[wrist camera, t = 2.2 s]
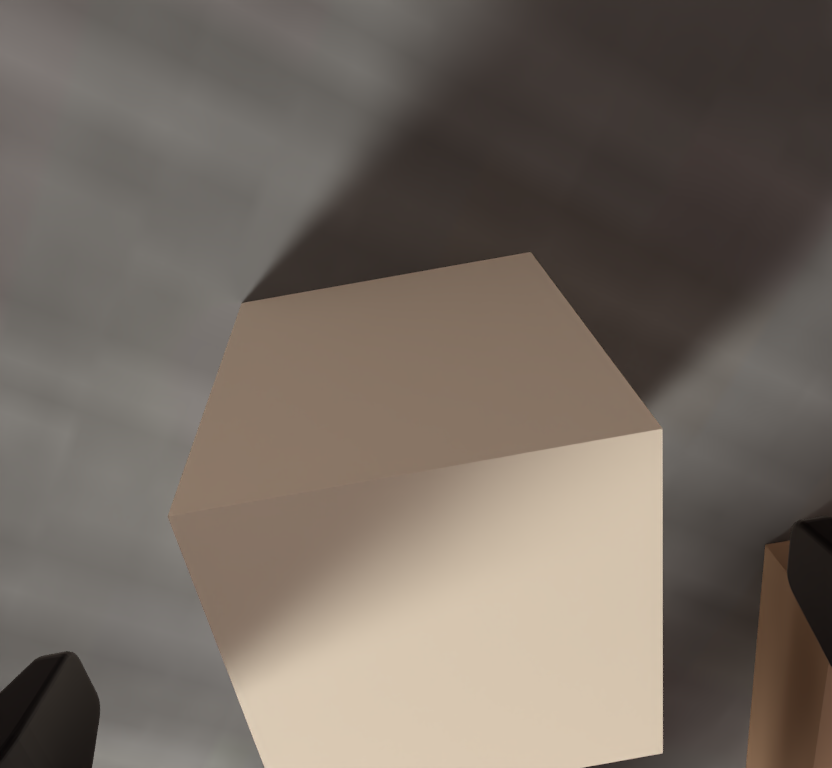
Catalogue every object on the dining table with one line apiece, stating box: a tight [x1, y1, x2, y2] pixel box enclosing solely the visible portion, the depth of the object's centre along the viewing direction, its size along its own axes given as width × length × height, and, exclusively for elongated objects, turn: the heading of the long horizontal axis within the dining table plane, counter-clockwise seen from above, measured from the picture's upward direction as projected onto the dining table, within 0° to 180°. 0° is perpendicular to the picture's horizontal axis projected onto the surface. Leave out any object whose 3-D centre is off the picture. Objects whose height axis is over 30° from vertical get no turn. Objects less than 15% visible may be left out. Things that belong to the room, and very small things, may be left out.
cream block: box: [168, 252, 663, 768], centre depth 11 cm, size 5×5×6 cm
